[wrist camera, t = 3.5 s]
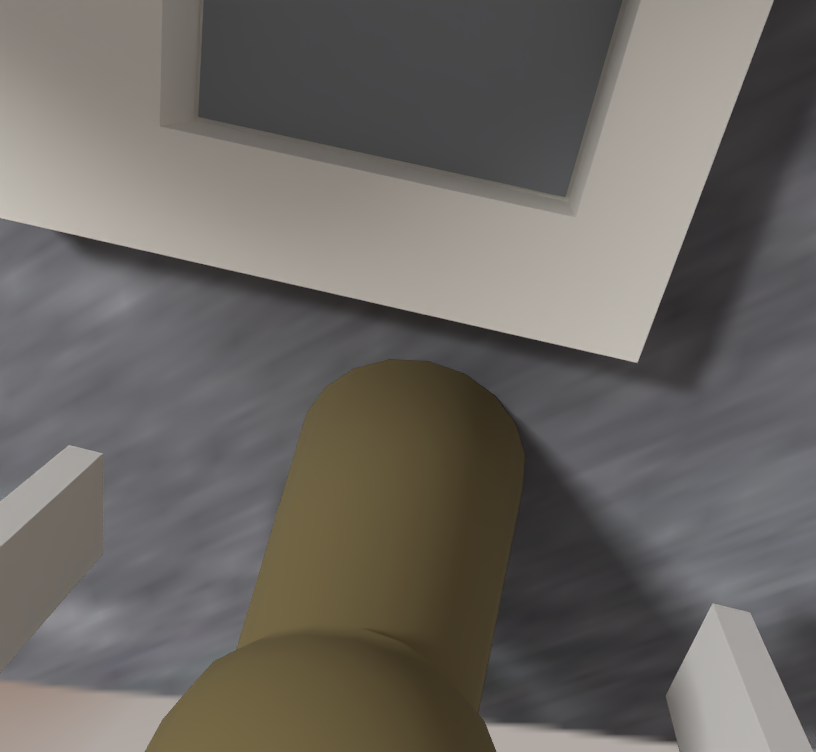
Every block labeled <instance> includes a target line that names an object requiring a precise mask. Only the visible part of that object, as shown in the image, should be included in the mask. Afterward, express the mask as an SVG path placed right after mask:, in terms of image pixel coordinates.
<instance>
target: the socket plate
mask: <svg viewBox="0 0 816 752" xmlns="http://www.w3.org/2000/svg"><path fill="white" fill-rule="evenodd" d="M773 1H774V0H0V218H3V219H7V220H12V221H16V222H20V223H25V224H29V225H34V226H38V227H42V228H47V229H51V230H56V231H60V232H64V233H69V234H73V235H78V236H82V237H86V238H91V239H95V240H100V241H104V242H108V243H113V244H117V245H122V246H126V247H130V248H135V249H139V250H144V251H148V252H152V253H157V254H161V255H165V256H170V257H174V258H179V259H183V260H187V261H192V262H196V263H201V264H205V265H209V266H214V267H218V268H223V269H227V270H231V271H236V272H240V273H245V274H249V275H253V276H258V277H262V278H267V279H271V280H275V281H280V282H284V283H289V284H293V285H297V286H302V287H306V288H311V289H315V290H319V291H324V292H328V293H333V294H337V295H341V296H346V297H350V298H354V299H359V300H363V301H368V302H372V303H376V304H381V305H385V306H390V307H394V308H398V309H403V310H407V311H412V312H416V313H420V314H425V315H429V316H434V317H438V318H442V319H447V320H451V321H456V322H460V323H464V324H469V325H473V326H478V327H482V328H486V329H491V330H495V331H500V332H504V333H508V334H513V335H517V336H522V337H526V338H530V339H535V340H539V341H543V342H548V343H552V344H557V345H561V346H565V347H570V348H574V349H579V350H583V351H587V352H592V353H596V354H601V355H605V356H609V357H614V358H618V359H623V360H627V361H631V362H636V363H638V360H639V357H640V355H641V352H642V349H643V347H644V344H645V342H646V339H647V336H648V334H649V331H650V328H651V326H652V323H653V320H654V318H655V315H656V312H657V310H658V307H659V304H660V302H661V299H662V296H663V294H664V291H665V288H666V286H667V283H668V280H669V278H670V275H671V272H672V270H673V267H674V264H675V262H676V259H677V256H678V254H679V251H680V248H681V246H682V243H683V241H684V238H685V235H686V233H687V230H688V227H689V225H690V222H691V219H692V217H693V214H694V211H695V209H696V206H697V203H698V201H699V198H700V195H701V193H702V190H703V187H704V185H705V182H706V179H707V177H708V174H709V171H710V169H711V166H712V163H713V161H714V158H715V155H716V153H717V150H718V147H719V145H720V142H721V140H722V137H723V134H724V132H725V129H726V126H727V124H728V121H729V118H730V116H731V113H732V110H733V108H734V105H735V102H736V100H737V97H738V94H739V92H740V89H741V86H742V84H743V81H744V78H745V76H746V73H747V70H748V68H749V65H750V62H751V60H752V57H753V54H754V52H755V49H756V46H757V44H758V41H759V39H760V36H761V33H762V31H763V28H764V25H765V23H766V20H767V17H768V15H769V12H770V9H771V7H772V4H773Z"/></svg>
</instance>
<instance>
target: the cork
mask: <svg viewBox="0 0 816 752" xmlns="http://www.w3.org/2000/svg"><path fill="white" fill-rule="evenodd" d="M524 467H525V453H524V450H523V447H522V443H521V440H520V437H519V433H518V430H517V427H516V424H515V422H514V421H513V420H512V418H511V417H510V416H509V414H508V413H507V412H506V410H505V409H504V408H503V406H502V405H501V403H500V402H499V401H498V399H497V398H496V397H495V395H493V394H492V393H490V392H489V391H488V390H486V389H485V388H483V387H482V386H481V385H479V384H478V383H476V382H475V381H474V380H472V379H471V378H470V377H468V376H467V375H465V374H464V373H461V372H458V371H455V370H452V369H449V368H446V367H443V366H440V365H438V364H435V363H432V362H429V361H414V360H391V359H389V360H386V361H382V362H378V363H374V364H370V365H366V366H362V367H359V368H355V369H353V370H351V371H350V372H348V373H347V374H345V375H344V376H342V377H341V378H339V379H338V380H336V381H335V382H333V383H331V384H330V385H328V386H327V387H326V388H325V389H324V390H323V392H322V393H321V394H320V396H319V397H318V398H317V400H316V401H315V402H314V404H313V405H312V406H311V408H310V409H309V410H308V412H307V414H306V417H305V420H304V424H303V427H302V431H301V434H300V437H299V441H298V444H297V447H296V451H295V454H294V457H293V461H292V464H291V468H290V471H289V474H288V478H287V481H286V484H285V488H284V491H283V494H282V498H281V501H280V504H279V508H278V511H277V515H276V518H275V521H274V525H273V528H272V531H271V535H270V538H269V541H268V545H267V548H266V552H265V555H264V558H263V562H262V565H261V568H260V572H259V575H258V578H257V582H256V585H255V588H254V592H253V595H252V599H251V602H250V605H249V609H248V612H247V615H246V619H245V622H244V625H243V629H242V632H241V636H240V639H239V642H238V646H237V649H236V650H235V651H233V652H231V653H229V654H227V655H225V656H223V657H221V658H219V659H217V660H215V661H214V662H213V663H212V664H211V665H210V666H209V667H208V668H207V669H206V670H205V672H204V673H203V674H202V675H201V676H200V677H199V678H198V679H197V680H196V682H195V683H194V684H193V685H192V686H191V687H190V688H189V689H188V690H187V692H186V693H185V694H184V695H183V696H182V697H181V699H180V700H179V701H178V702H177V703H176V705H175V706H174V707H173V708H172V709H171V710H170V712H169V713H168V714H167V715H166V716H165V717H164V719H163V720H162V721H161V723H160V725H159V727H158V729H157V731H156V732H155V734H154V736H153V738H152V740H151V741H150V743H149V745H148V747H147V749H146V750H145V752H496V750H495V747H494V744H493V742H492V739H491V737H490V734H489V732H488V729H487V727H486V724H485V722H484V720H483V719H482V718H481V717H480V715H479V714H478V712H479V707H480V702H481V697H482V692H483V686H484V681H485V676H486V671H487V666H488V661H489V656H490V651H491V646H492V641H493V636H494V631H495V626H496V621H497V616H498V611H499V606H500V601H501V596H502V590H503V585H504V580H505V575H506V570H507V565H508V560H509V555H510V550H511V545H512V540H513V535H514V530H515V525H516V520H517V515H518V510H519V505H520V500H521V494H522V489H523V480H524Z"/></svg>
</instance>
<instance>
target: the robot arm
mask: <svg viewBox="0 0 816 752" xmlns="http://www.w3.org/2000/svg"><path fill="white" fill-rule="evenodd" d="M102 554H103V453H99V452H95V451H91V450H87V449H83V448H78V447H74V446H70V445H68V446H67V447H66V448H65V449H64V450H62V451H61V452H60V453H59V454H58V455H56V456H55V457H54V458H53V459H51V460H50V461H49V462H48V463H47V464H45V465H44V466H43V467H42V468H40V469H39V470H38V471H37V472H36V473H34V474H33V475H32V476H31V477H30V478H28V479H27V480H26V481H25V482H23V483H22V484H21V485H20V486H19V487H17V488H16V489H15V490H14V491H12V492H11V493H10V494H9V495H8V496H6V497H5V498H4V499H3V500H2V501H0V673H1V672H2V670H3V669H4V668H5V667H6V666H7V665H8V663H9V662H10V661H11V660H12V659H13V658H14V656H15V655H16V654H17V653H18V652H19V651H20V649H21V648H22V647H23V646H24V645H25V644H26V643H27V641H28V640H29V639H30V638H31V637H32V636H33V634H34V633H35V632H36V631H37V630H38V629H39V627H40V626H41V625H42V624H43V623H44V622H45V621H46V619H47V618H48V617H49V616H50V615H51V614H52V612H53V611H54V610H55V609H56V608H57V607H58V605H59V604H60V603H61V602H62V601H63V600H64V599H65V597H66V596H67V595H68V594H69V593H70V592H71V590H72V589H73V588H74V587H75V586H76V585H77V583H78V582H79V581H80V580H81V579H82V578H83V577H84V575H85V574H86V573H87V572H88V571H89V570H90V568H91V567H92V566H93V565H94V564H95V563H96V561H97V560H98V559H99V558H100V557H101V556H102ZM666 700H667V704H668V708H669V712H670V716H671V720H672V724H673V727H674V731H675V735H676V739H677V743H678V747H679V751H680V752H813V750H812V748H811V746H810V743H809V741H808V739H807V737H806V735H805V732H804V730H803V728H802V726H801V724H800V721H799V719H798V717H797V715H796V713H795V710H794V708H793V706H792V704H791V702H790V700H789V697H788V695H787V693H786V691H785V689H784V686H783V684H782V682H781V680H780V678H779V675H778V673H777V671H776V669H775V667H774V664H773V662H772V660H771V658H770V656H769V653H768V651H767V649H766V647H765V645H764V642H763V640H762V638H761V636H760V634H759V631H758V629H757V627H756V625H755V623H754V620H753V618H752V616H751V614H750V612H746V611H742V610H737V609H733V608H729V607H725V606H721V605H717V604H712V606H711V608H710V609H709V611H708V613H707V615H706V617H705V619H704V621H703V623H702V625H701V627H700V629H699V631H698V633H697V635H696V637H695V639H694V641H693V643H692V645H691V647H690V649H689V651H688V653H687V655H686V657H685V659H684V661H683V663H682V664H681V666H680V668H679V670H678V672H677V674H676V676H675V678H674V680H673V682H672V684H671V686H670V688H669V690H668V692H667V694H666Z"/></svg>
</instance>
